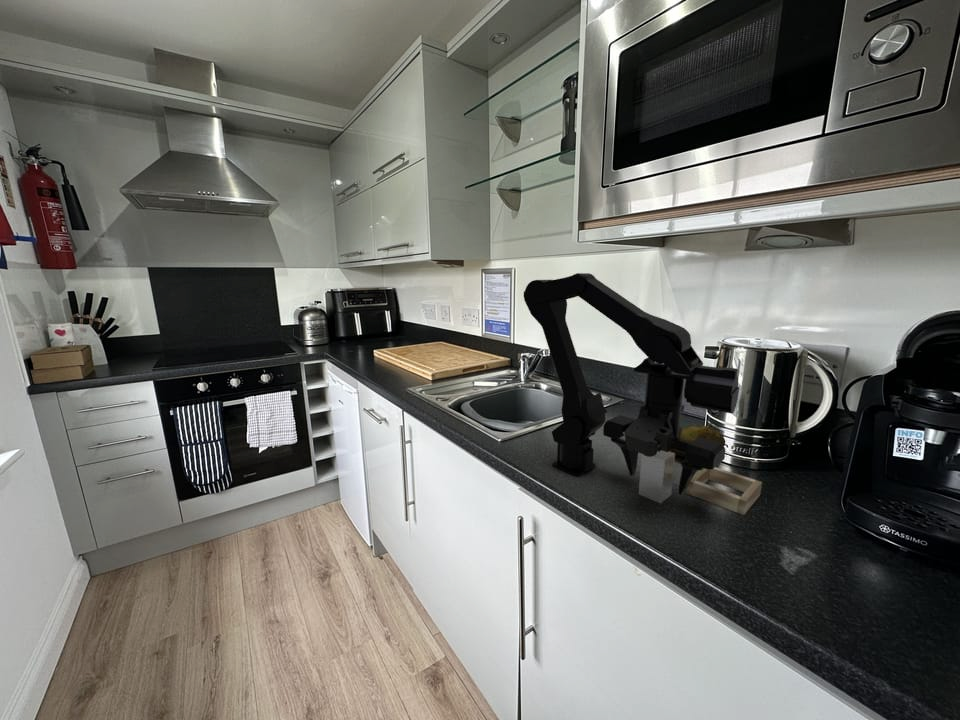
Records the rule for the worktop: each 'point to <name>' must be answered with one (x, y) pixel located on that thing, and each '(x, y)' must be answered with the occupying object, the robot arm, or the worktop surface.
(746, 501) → the frame
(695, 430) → the potato
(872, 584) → the worktop surface
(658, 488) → the brushed grey square prism
